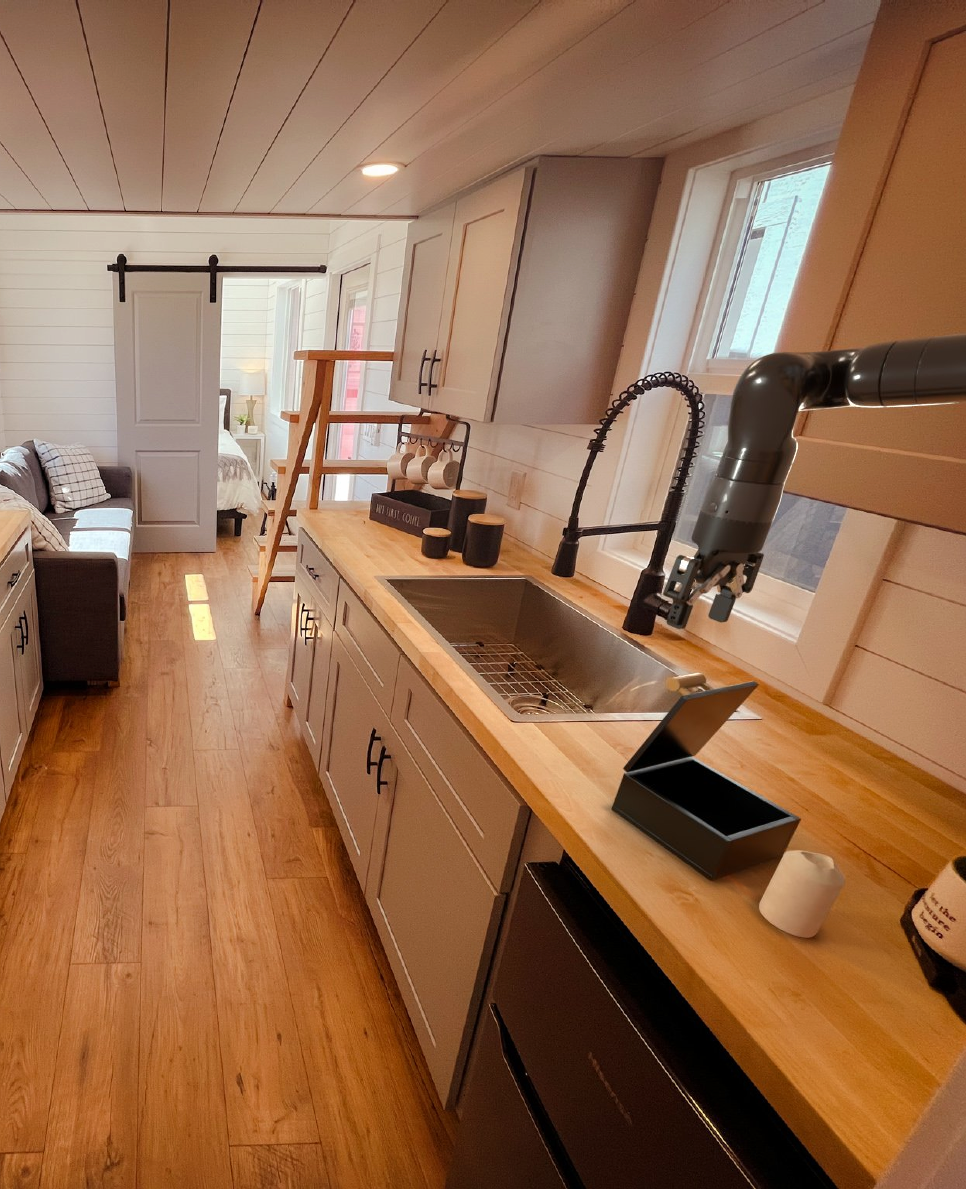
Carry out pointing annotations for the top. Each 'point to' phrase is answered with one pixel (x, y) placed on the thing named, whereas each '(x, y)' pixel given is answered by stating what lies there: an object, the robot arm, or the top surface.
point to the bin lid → (689, 720)
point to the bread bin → (704, 817)
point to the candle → (801, 892)
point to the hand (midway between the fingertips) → (696, 623)
